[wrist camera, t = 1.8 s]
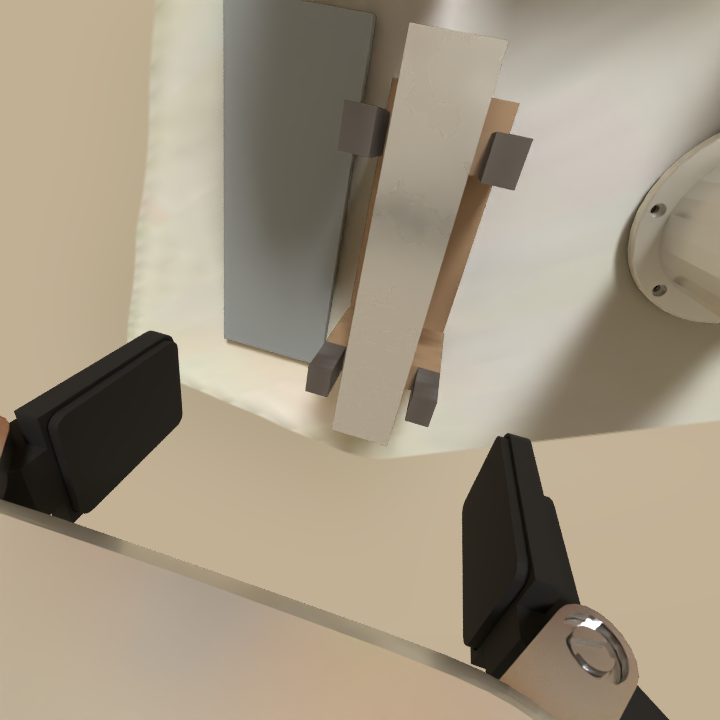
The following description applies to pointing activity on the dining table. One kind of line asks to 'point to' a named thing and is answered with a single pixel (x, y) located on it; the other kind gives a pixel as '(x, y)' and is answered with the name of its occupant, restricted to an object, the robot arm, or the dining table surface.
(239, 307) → the rubber mat
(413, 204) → the steel bar
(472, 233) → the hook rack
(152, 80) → the dining table surface
